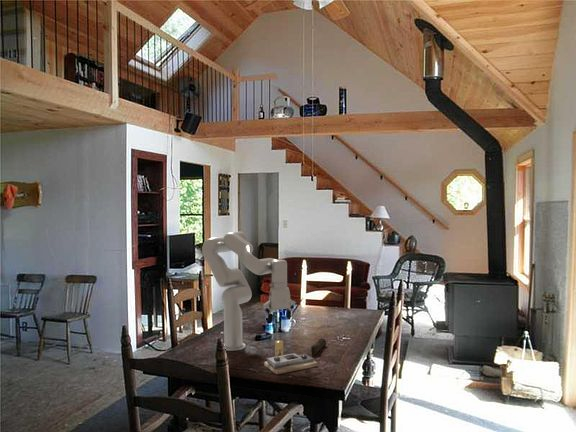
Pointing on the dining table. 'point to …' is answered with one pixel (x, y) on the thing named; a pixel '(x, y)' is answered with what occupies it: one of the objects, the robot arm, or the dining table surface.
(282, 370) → the birch board
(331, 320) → the dining table surface
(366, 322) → the dining table surface
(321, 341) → the hand tool
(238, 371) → the dining table surface
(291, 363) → the grey slotted fixture board
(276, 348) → the brass pin
